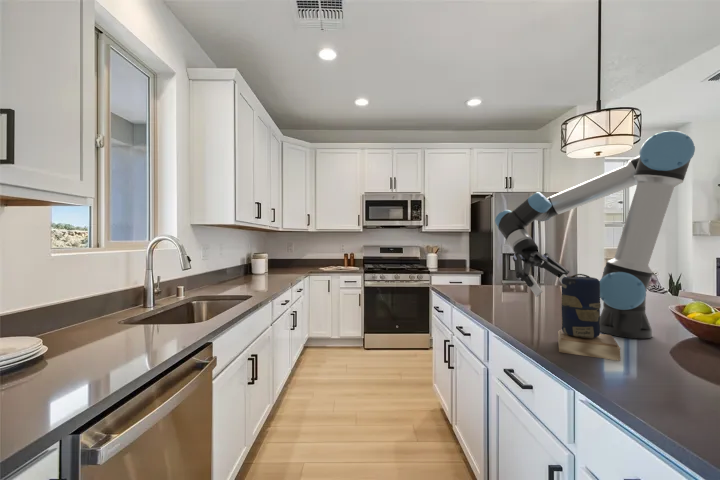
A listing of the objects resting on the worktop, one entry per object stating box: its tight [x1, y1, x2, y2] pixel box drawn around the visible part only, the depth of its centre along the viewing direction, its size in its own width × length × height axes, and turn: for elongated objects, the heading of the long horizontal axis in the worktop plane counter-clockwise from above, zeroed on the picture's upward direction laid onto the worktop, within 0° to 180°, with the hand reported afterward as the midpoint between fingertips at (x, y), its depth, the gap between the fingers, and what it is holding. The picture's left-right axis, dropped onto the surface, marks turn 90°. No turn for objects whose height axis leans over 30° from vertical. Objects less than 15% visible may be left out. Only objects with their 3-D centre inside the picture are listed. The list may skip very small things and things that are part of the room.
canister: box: [561, 273, 601, 338], centre depth 101 cm, size 10×10×18 cm
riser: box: [557, 328, 621, 362], centre depth 100 cm, size 14×12×4 cm
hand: (556, 293), depth 111 cm, fingers open, 13 cm apart
